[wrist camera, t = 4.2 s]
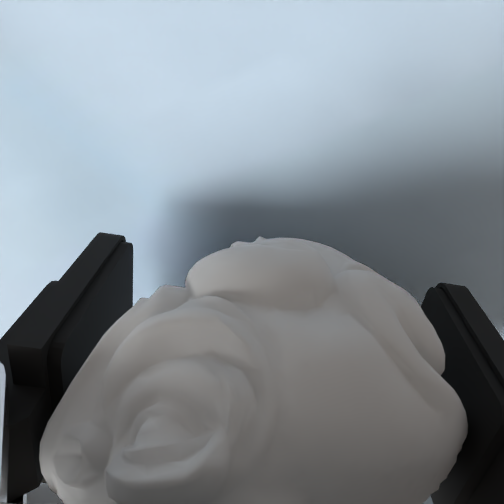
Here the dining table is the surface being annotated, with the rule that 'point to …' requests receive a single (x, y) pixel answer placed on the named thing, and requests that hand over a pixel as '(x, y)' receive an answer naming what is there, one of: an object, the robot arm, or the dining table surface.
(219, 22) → the dining table surface
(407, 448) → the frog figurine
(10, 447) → the robot arm
